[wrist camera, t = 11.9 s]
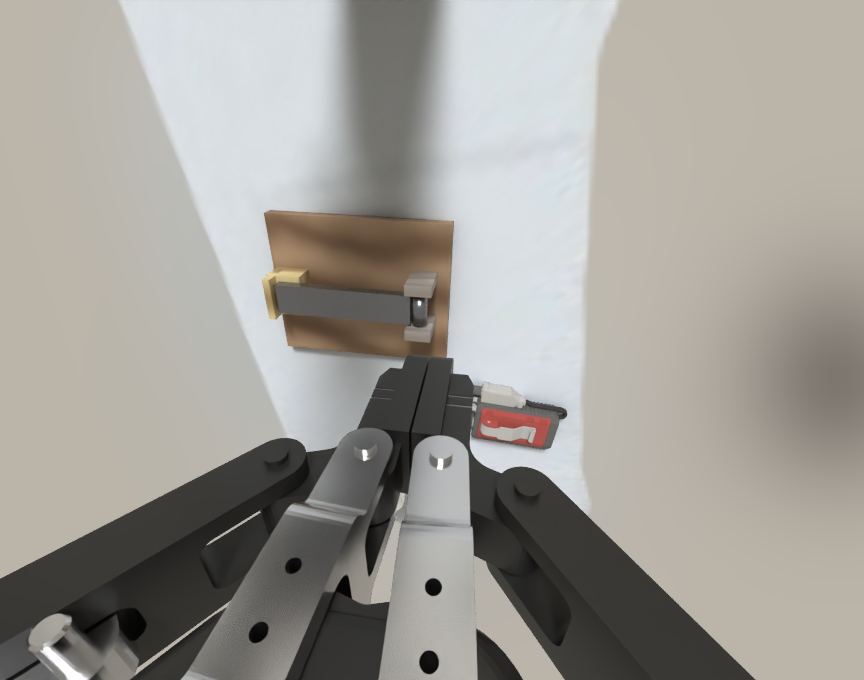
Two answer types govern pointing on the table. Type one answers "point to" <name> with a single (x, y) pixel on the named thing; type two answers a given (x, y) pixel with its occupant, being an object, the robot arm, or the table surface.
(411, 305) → the strap
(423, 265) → the latch board
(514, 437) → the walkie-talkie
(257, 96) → the table surface
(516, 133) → the table surface
